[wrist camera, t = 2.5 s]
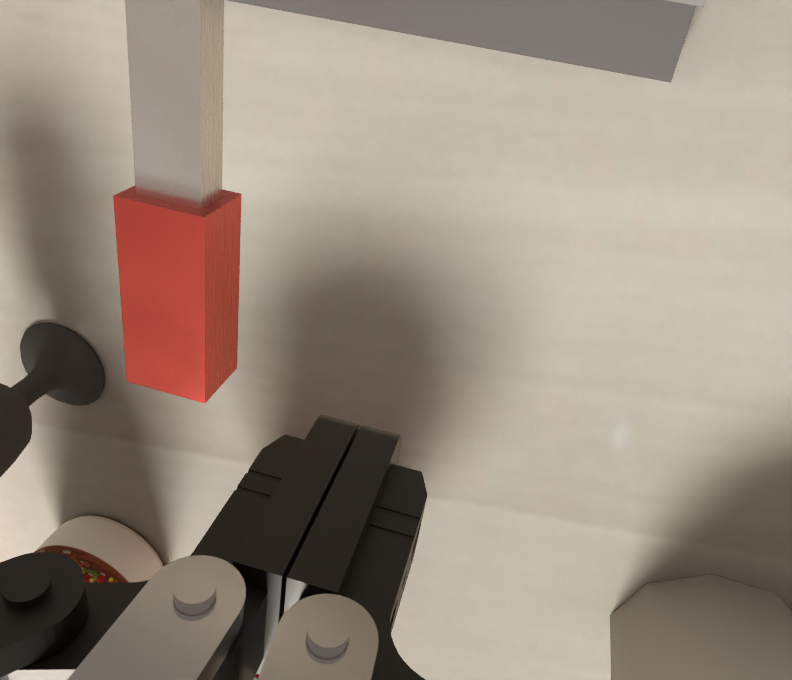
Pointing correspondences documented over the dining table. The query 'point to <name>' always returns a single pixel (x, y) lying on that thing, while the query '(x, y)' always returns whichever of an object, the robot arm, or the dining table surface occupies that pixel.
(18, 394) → the sundae
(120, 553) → the milk bottle
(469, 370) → the dining table surface
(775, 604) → the toilet tissue
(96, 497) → the dining table surface
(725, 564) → the dining table surface
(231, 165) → the dining table surface
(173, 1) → the valve lever
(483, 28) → the valve stand
